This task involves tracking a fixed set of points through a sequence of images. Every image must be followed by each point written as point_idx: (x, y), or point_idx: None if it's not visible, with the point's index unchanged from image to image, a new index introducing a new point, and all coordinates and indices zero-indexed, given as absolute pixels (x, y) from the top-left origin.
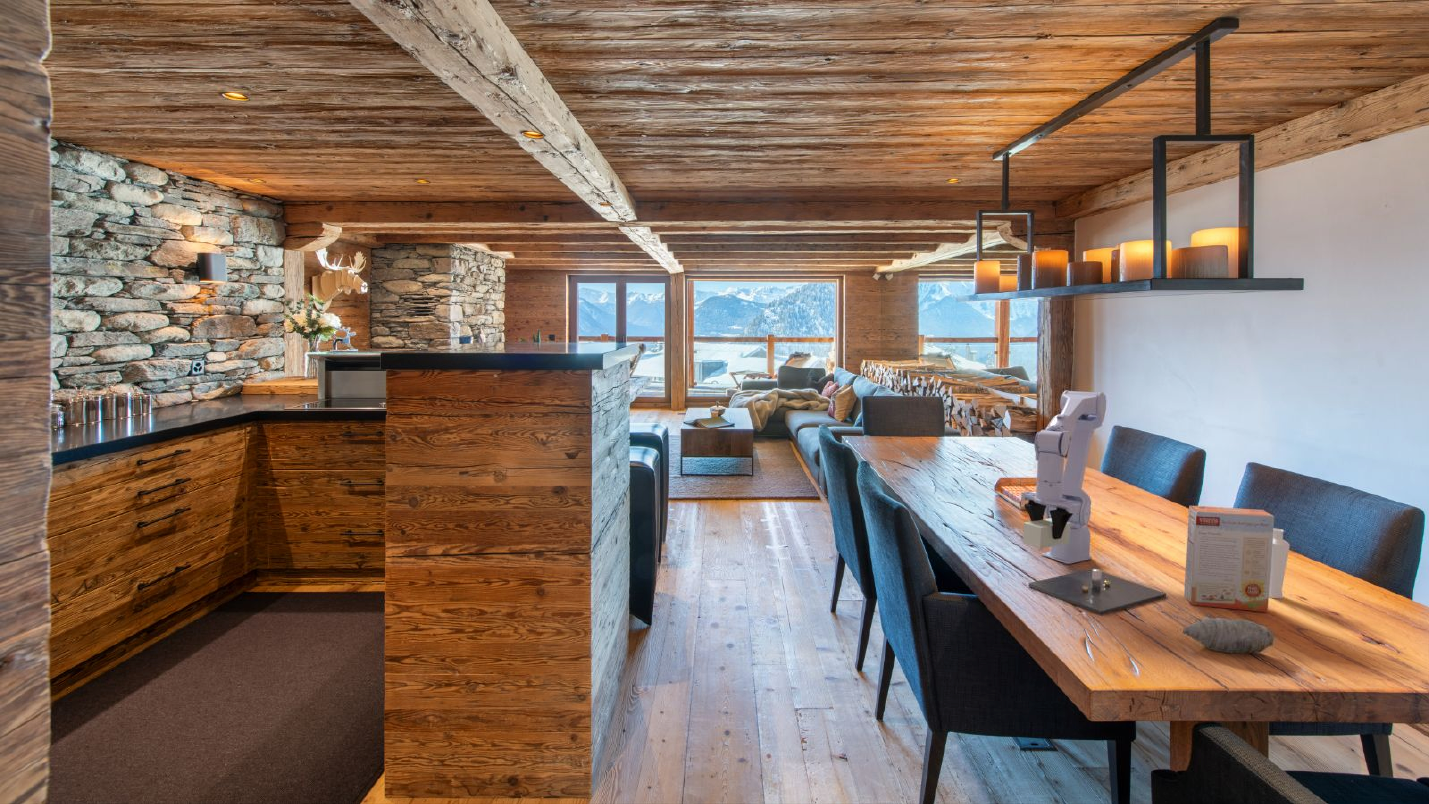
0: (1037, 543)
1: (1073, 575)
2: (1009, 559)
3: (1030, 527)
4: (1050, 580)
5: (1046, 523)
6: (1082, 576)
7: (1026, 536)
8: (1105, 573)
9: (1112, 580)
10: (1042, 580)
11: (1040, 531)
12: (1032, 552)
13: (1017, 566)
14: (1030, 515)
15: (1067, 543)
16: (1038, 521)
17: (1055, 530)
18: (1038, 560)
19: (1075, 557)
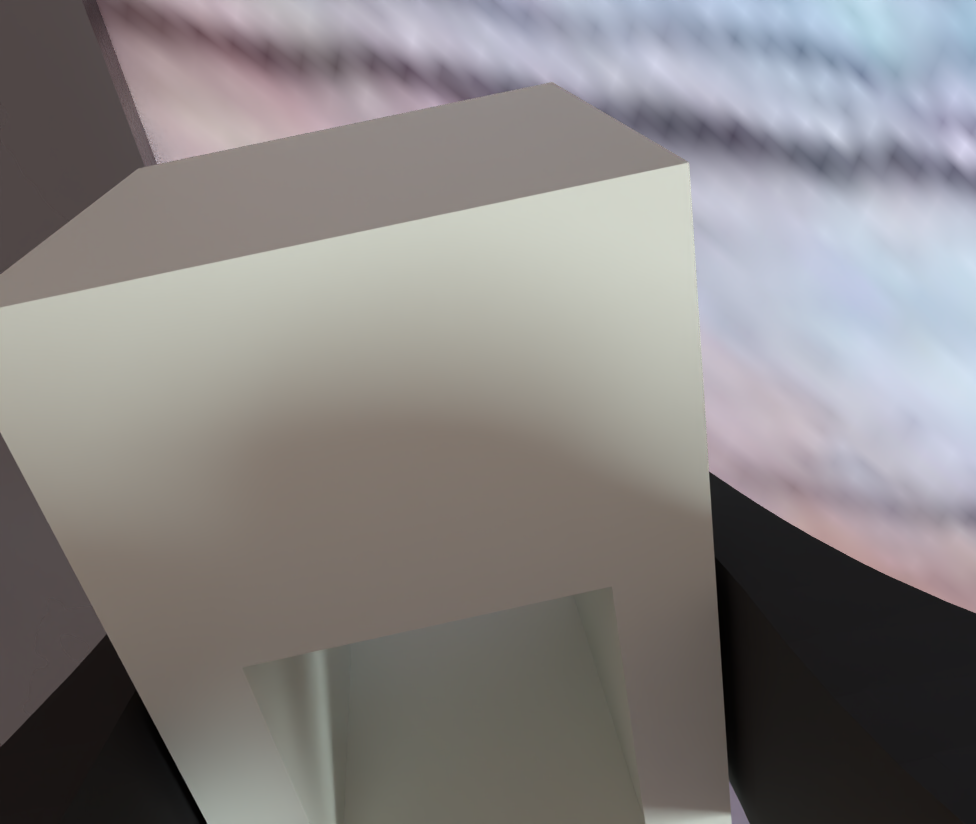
0: (186, 171)
1: None
2: (888, 220)
3: (388, 200)
4: (76, 144)
5: (615, 766)
6: None
7: (487, 121)
8: None
9: (41, 695)
10: (81, 40)
11: (18, 277)
12: (920, 545)
13: (684, 156)
14: (898, 623)
15: None
16: (627, 639)
17: (78, 671)
18: (740, 471)
19: None
